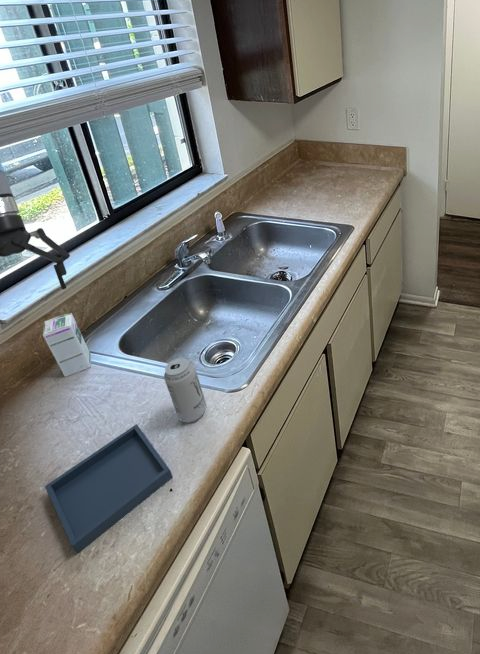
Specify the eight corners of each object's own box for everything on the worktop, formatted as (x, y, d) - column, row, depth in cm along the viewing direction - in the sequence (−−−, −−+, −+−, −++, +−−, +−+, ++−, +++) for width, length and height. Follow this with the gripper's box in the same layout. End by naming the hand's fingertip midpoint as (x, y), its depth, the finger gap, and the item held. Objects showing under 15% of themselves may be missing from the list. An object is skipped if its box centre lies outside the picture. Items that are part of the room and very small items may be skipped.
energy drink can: (205, 420, 98) (190, 373, 92) (176, 428, 97) (159, 380, 90) (208, 398, 103) (194, 352, 97) (181, 405, 102) (164, 358, 95)
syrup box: (91, 367, 112) (72, 324, 106) (63, 378, 109) (41, 334, 103) (91, 353, 116) (72, 311, 110) (64, 363, 114) (43, 320, 107)
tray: (49, 494, 84) (44, 486, 83) (139, 431, 96) (136, 423, 95) (77, 554, 75) (71, 546, 74) (172, 477, 87) (169, 469, 86)
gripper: (-77, 233, 95) (-43, 324, 95) (63, 201, 111) (92, 279, 112) (-71, 237, 100) (-39, 323, 101) (62, 206, 117) (89, 280, 117)
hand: (30, 300), depth 106 cm, fingers open, 13 cm apart
